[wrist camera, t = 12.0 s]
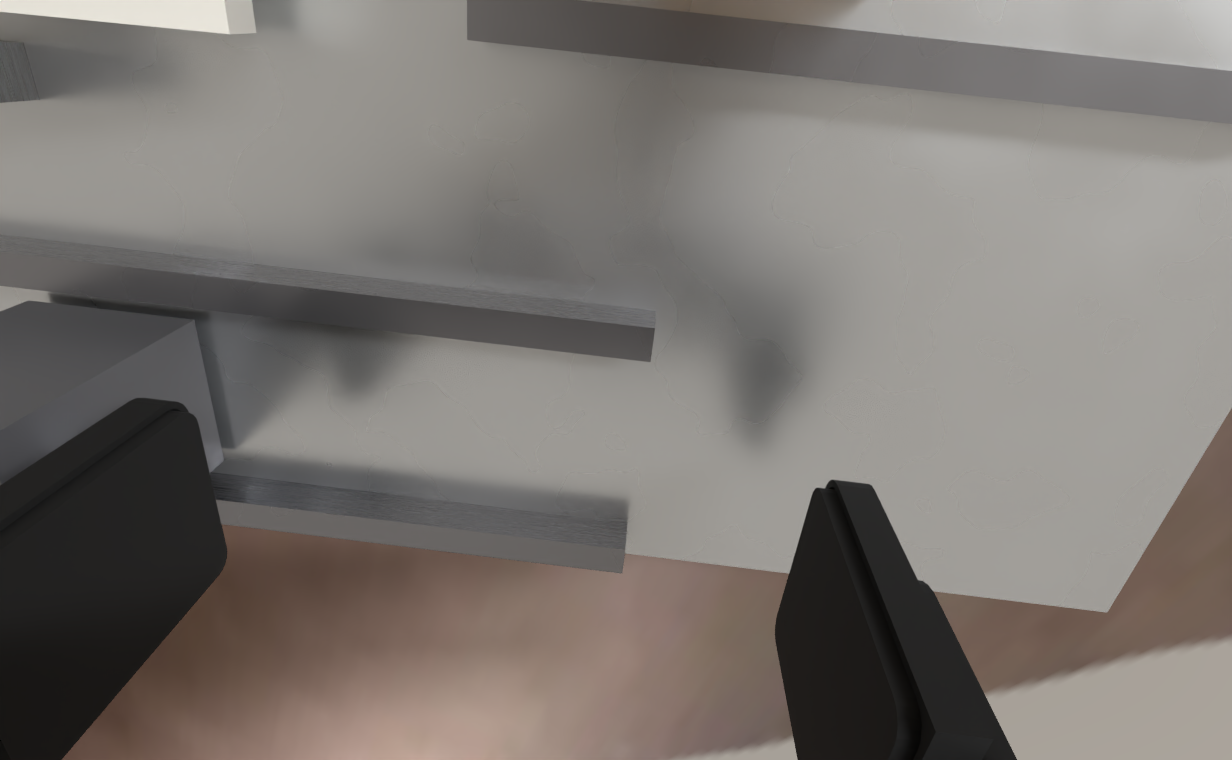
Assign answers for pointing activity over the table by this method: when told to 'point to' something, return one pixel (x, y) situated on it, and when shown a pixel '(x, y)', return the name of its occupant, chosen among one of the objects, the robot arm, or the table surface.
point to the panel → (663, 266)
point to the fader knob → (91, 375)
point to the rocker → (148, 13)
